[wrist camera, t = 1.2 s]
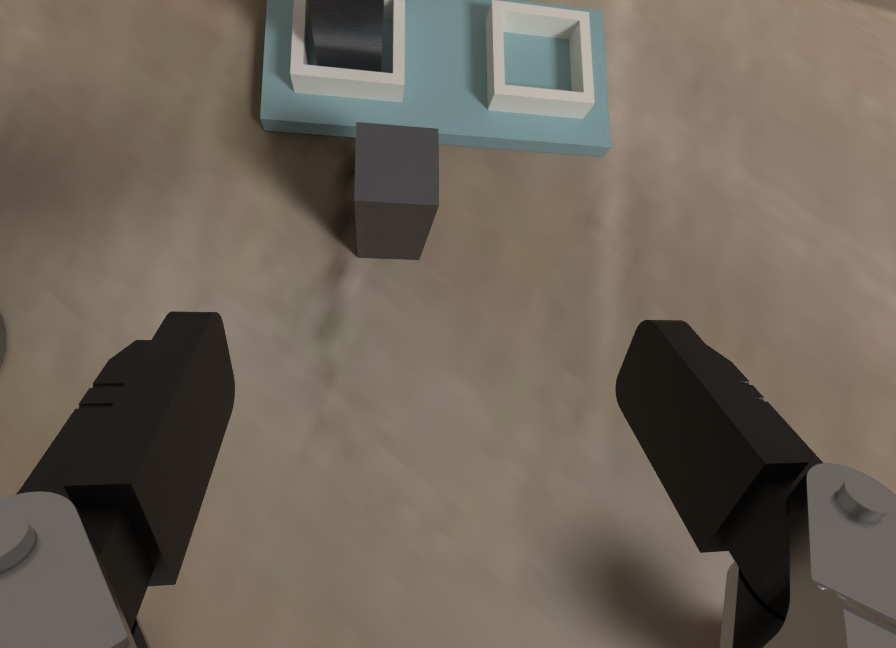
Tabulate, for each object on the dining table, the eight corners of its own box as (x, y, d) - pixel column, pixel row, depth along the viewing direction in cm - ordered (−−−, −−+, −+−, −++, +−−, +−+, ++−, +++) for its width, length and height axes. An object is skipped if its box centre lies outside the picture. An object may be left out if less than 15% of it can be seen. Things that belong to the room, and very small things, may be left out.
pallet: (264, 130, 35) (253, 101, 32) (272, -16, 37) (263, -58, 34) (602, 156, 39) (624, 133, 36) (593, 24, 41) (614, -10, 38)
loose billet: (357, 257, 35) (354, 200, 25) (358, 196, 36) (356, 117, 26) (419, 260, 36) (438, 205, 26) (419, 199, 36) (438, 124, 27)
